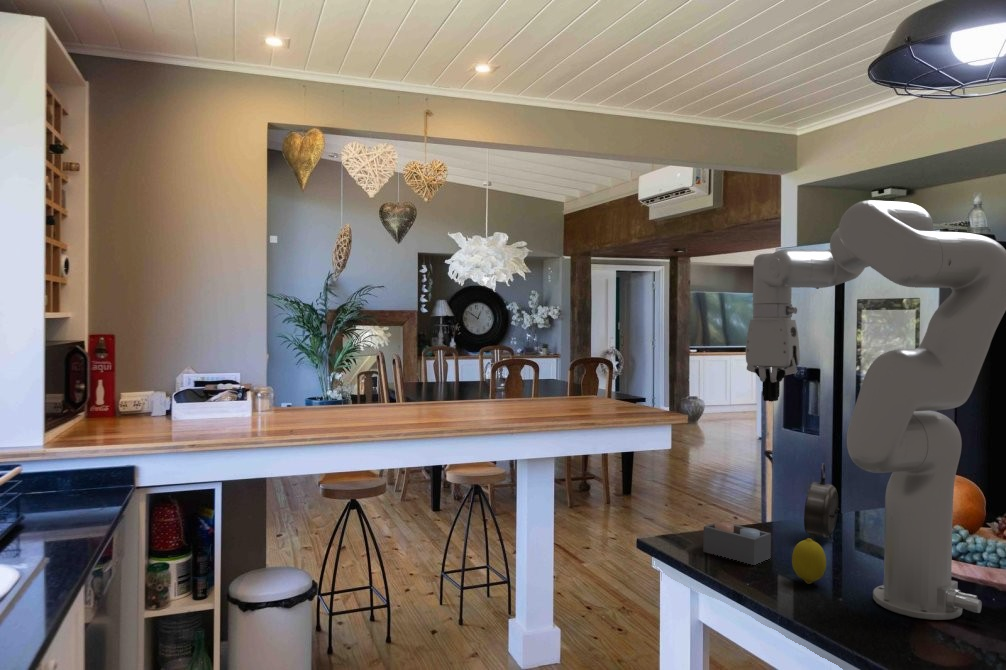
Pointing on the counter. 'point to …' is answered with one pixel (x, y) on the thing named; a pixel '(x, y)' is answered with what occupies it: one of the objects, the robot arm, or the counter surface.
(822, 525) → the alarm clock
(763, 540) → the grey storage bin
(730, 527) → the peach rounded cube
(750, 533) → the pale blue cube
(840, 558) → the counter surface
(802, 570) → the lemon
